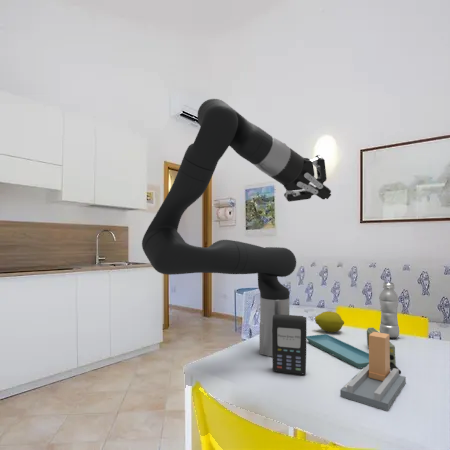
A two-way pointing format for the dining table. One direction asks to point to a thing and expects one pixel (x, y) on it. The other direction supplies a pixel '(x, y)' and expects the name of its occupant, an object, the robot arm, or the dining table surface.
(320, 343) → the rectangular tray
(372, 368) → the switch tab
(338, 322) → the lemon
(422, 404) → the dining table surface
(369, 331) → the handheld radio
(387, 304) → the plastic bottle
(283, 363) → the card reader
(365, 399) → the grey slotted base
